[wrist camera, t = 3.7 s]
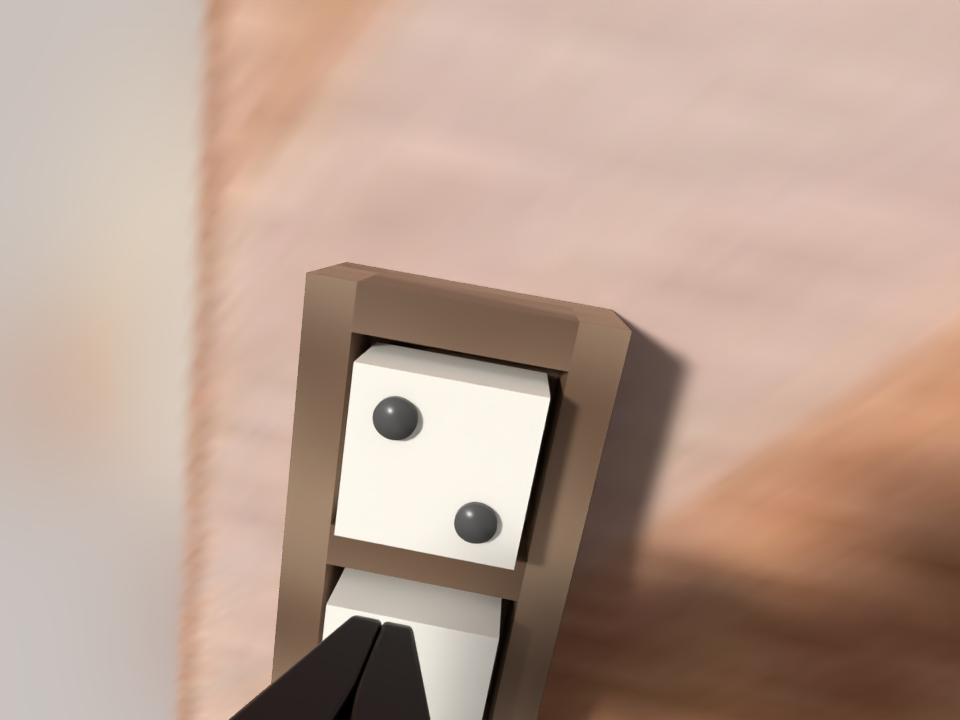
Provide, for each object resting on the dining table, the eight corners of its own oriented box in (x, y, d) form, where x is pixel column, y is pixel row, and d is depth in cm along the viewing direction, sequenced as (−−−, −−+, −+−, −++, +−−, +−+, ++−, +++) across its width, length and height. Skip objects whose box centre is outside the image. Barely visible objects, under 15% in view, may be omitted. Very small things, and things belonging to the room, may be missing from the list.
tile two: (515, 525, 15) (513, 574, 13) (358, 495, 15) (332, 538, 13) (547, 373, 14) (550, 400, 12) (377, 341, 14) (351, 363, 12)
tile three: (476, 709, 17) (469, 778, 15) (335, 680, 17) (309, 745, 15) (502, 587, 16) (498, 643, 14) (350, 557, 16) (324, 608, 14)
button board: (488, 840, 21) (481, 941, 18) (290, 798, 21) (253, 891, 18) (611, 309, 16) (632, 331, 13) (346, 261, 16) (306, 272, 13)
